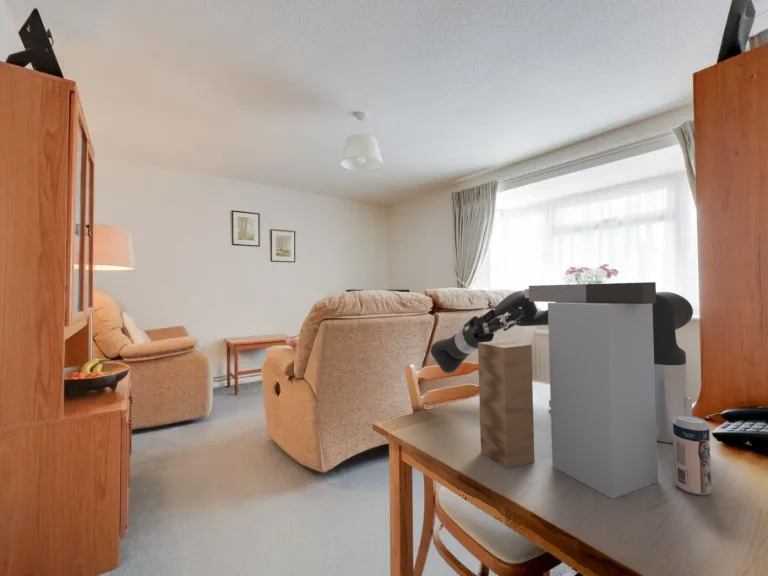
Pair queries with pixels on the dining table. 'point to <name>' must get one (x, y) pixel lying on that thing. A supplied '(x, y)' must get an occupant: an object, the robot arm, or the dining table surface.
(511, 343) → the walnut block
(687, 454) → the cream and blue canister
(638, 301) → the dark grey long bar
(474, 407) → the dining table surface
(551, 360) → the tall stand
